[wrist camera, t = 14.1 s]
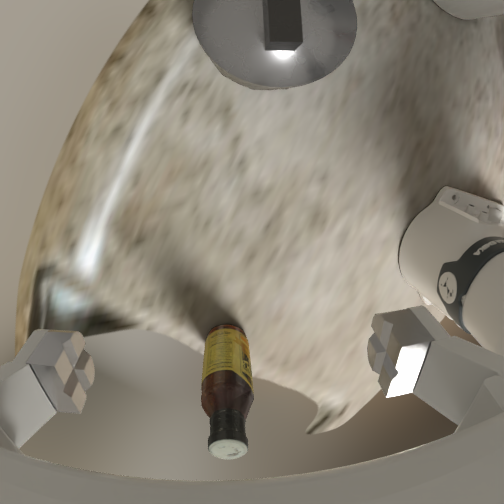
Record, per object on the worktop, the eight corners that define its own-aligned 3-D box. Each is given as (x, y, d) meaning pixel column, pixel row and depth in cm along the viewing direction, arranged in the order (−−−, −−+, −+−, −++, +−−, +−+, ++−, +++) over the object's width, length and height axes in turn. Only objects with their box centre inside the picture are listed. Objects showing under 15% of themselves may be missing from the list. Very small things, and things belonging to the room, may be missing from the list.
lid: (342, -36, 22) (361, -57, 17) (353, 91, 28) (377, 88, 23) (193, -39, 21) (187, -65, 16) (197, 93, 27) (190, 87, 22)
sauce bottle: (245, 355, 48) (254, 467, 30) (204, 352, 47) (197, 465, 29) (250, 321, 45) (264, 437, 27) (206, 317, 45) (197, 434, 26)
